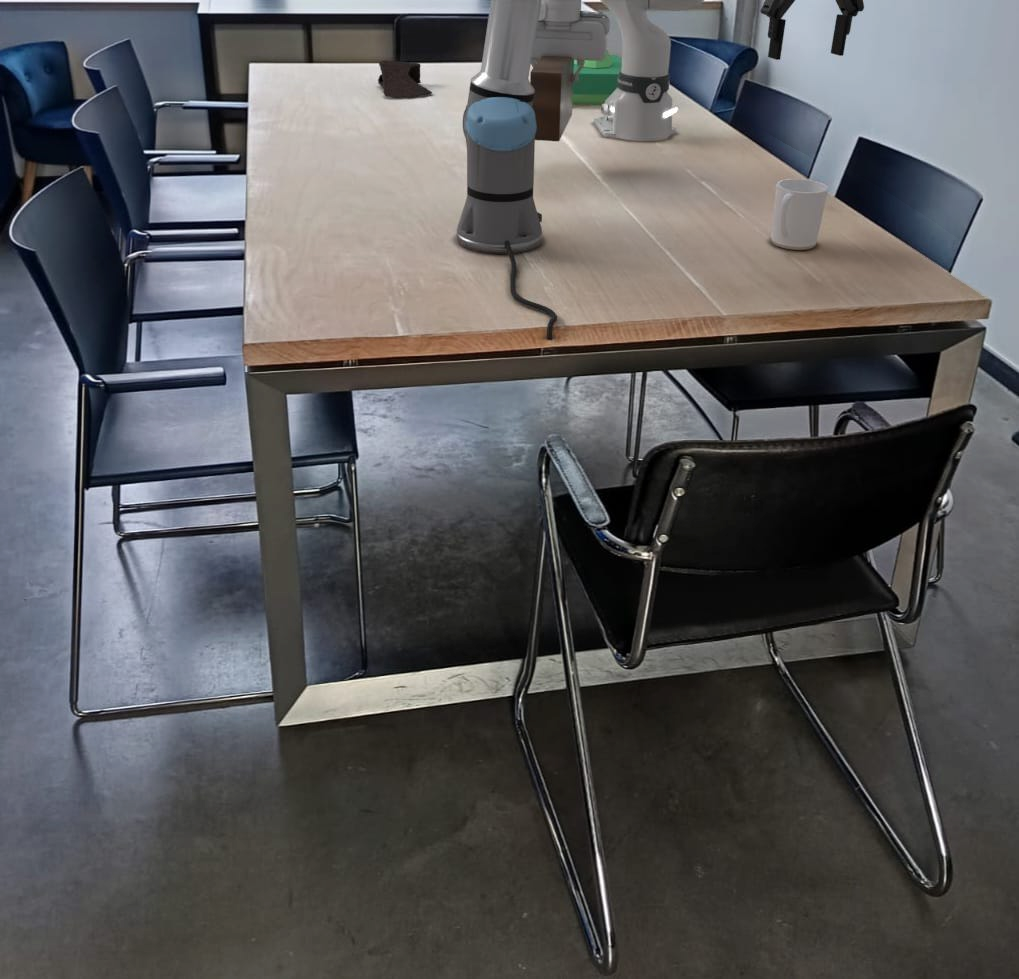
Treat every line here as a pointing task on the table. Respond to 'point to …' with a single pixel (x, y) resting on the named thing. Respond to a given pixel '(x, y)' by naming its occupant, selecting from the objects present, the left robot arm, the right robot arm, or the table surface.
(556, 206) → the table surface
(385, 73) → the axe head
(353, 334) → the table surface
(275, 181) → the table surface
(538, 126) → the box
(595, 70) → the toy tank
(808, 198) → the mug
